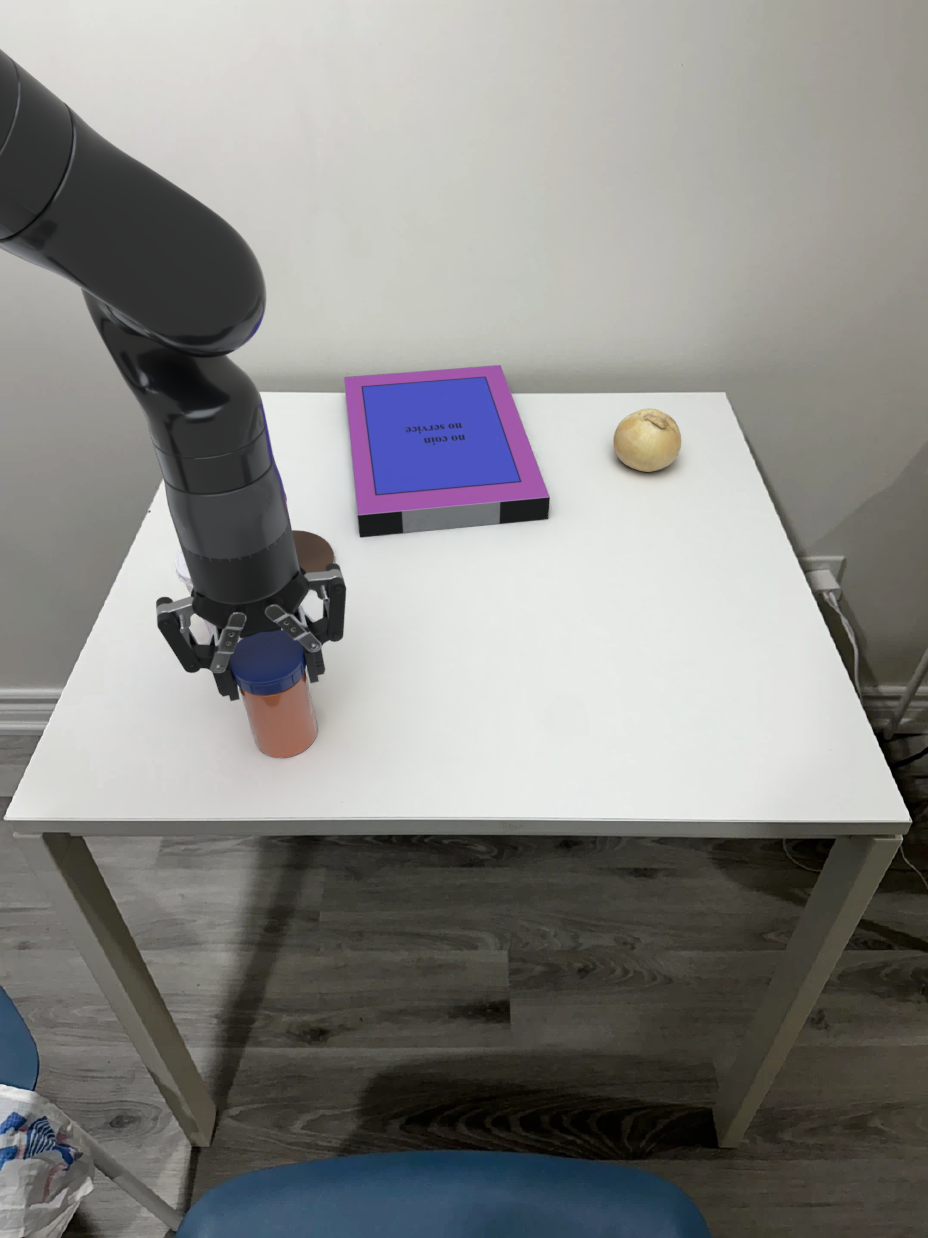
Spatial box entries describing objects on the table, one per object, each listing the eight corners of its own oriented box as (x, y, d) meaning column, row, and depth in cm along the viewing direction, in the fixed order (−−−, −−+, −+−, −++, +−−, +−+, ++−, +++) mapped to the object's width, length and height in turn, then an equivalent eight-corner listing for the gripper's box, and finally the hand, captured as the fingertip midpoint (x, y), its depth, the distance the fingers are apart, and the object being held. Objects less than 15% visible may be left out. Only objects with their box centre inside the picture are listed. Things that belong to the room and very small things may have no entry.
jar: (246, 755, 72) (224, 683, 66) (264, 706, 76) (245, 633, 69) (308, 760, 71) (292, 688, 65) (324, 711, 75) (309, 638, 69)
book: (500, 365, 114) (549, 497, 93) (500, 385, 116) (548, 519, 95) (343, 377, 112) (357, 515, 91) (345, 397, 114) (359, 537, 93)
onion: (600, 468, 102) (606, 416, 97) (625, 436, 107) (632, 385, 102) (663, 487, 99) (674, 434, 94) (686, 454, 104) (697, 402, 99)
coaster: (224, 590, 87) (223, 586, 86) (257, 530, 94) (256, 525, 93) (319, 601, 86) (319, 596, 85) (345, 539, 93) (344, 534, 92)
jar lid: (276, 705, 65) (273, 693, 64) (216, 678, 67) (212, 666, 66) (321, 655, 69) (319, 643, 68) (263, 631, 71) (260, 619, 70)
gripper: (123, 575, 53) (187, 740, 65) (348, 532, 56) (370, 697, 68) (121, 507, 59) (181, 671, 70) (327, 470, 62) (351, 633, 73)
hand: (274, 683), depth 69 cm, fingers closed on jar lid, 5 cm apart
